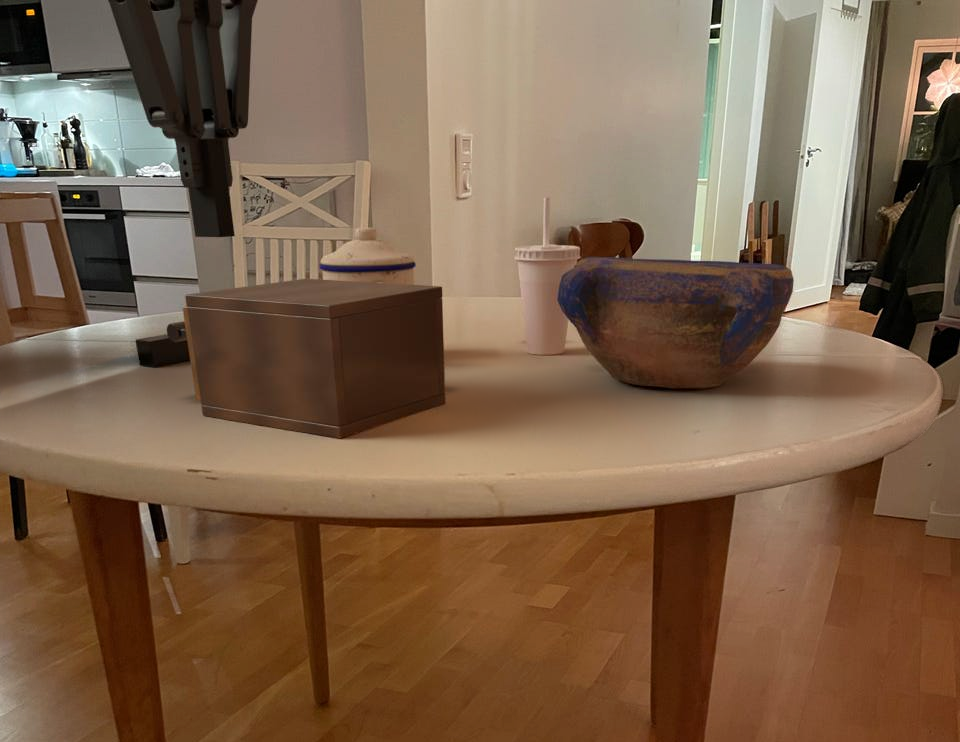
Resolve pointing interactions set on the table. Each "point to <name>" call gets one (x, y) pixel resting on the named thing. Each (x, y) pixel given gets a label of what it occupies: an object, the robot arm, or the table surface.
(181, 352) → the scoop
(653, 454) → the table surface
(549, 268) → the smoothie
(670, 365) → the bowl
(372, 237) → the teacup with lid
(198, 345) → the cabinet
